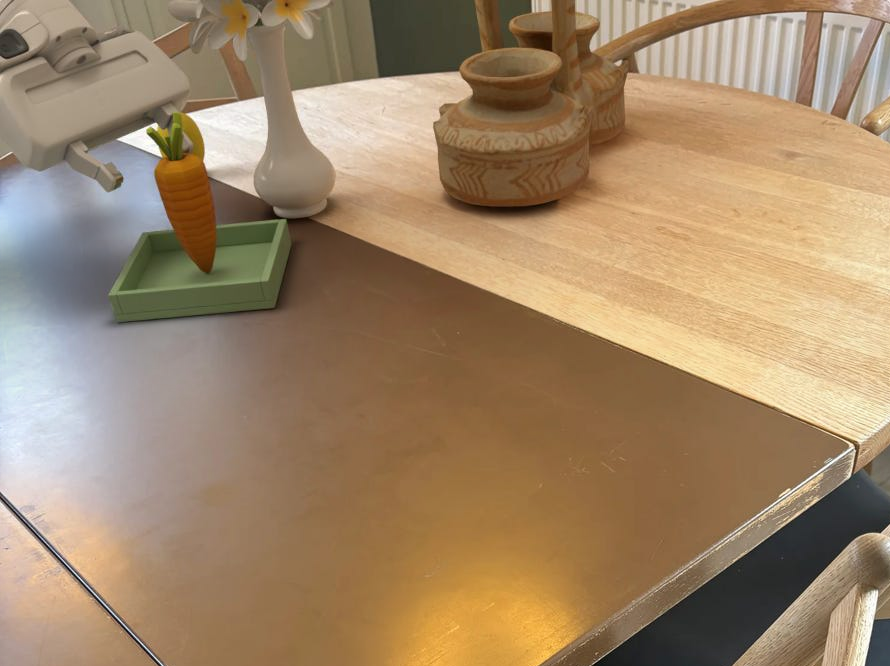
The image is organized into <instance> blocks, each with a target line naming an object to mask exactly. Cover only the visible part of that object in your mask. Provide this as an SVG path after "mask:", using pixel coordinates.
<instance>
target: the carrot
mask: <svg viewBox="0 0 890 666" xmlns="http://www.w3.org/2000/svg"><path fill="white" fill-rule="evenodd" d="M145 130H146V131H145V133H146V135H147V136H148V137H149V138H150V139H151V140H152V141H153V142H154V143H155V144H156V145H157V146H158V148H159V147H160V149H161V150H162V151H163V152H164V154H165V155H166V156H167V157H164V158H160V160H159V161H158V163H157V164H156V166H155V168H154V170H153V174H154V175H153V176H154V180H155V183H156V186H157V189H158V193H159V195H160V199H161V202H162V205H163V208H164V210H165V213H166V216H167V218H168V221H169V223H170V225H171V227H172V230H174V232H175V234H176V236H177V238H178V240H179V241H180V243H181V245H182V247H183V249H184V250H185V251H186V253H187V254H188V256H189V257H190V258H191V260H192V261H193V262H194V263H195V264H196V265H197V266H198V268H199V269H200V270H201V271H203V272H205V273H206V274H209V273H210V271H211V270H212V267H213V263H214V258H215V253H216V242H217V234H216V225H217V222H216V220H217V219H216V209H215V204H214V198H213V194H212V193H213V192H212V189H211V184H210V179H209V175H208V171H207V167H206V164H205V162H204V160H202V159H201V158H199V157H198V156H195V155H191V154H188V153H182V143H183V137H184V134H183V133H182V116H181V114H180V113H178V112H173V124H172V128H171V135H170V137H169V136H168V135H165V137H164V138H165V140H166V142H167V145H168V146H167V145H166V143H165V141H164V140H163V138H162V137H161V136H160V134H159V133H158V132H157V129H155V128H154V127H152V126H148V127H147V128H146V129H145ZM168 147H169V148H168ZM169 149H170V150H169Z"/></svg>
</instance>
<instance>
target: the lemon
mask: <svg viewBox="0 0 890 666" xmlns="http://www.w3.org/2000/svg"><path fill="white" fill-rule="evenodd" d="M180 114H181V116H182V127H183V132H184V133H185V134H186V135H187V137H188V138H189V139H190V140H191V141H192V143H193V145H194V148H193V150H192V153H191V155H195V156H198V157H199V158H201V159H202V160H203V161H205V154H206V149H205V141H204V138H203V135H202V132H201V130H200V128H199V126H198V125H197V123H196V121H194V119H193V118H192V117H190V115H189V114H186V113H184V112H183V111H181V112H180ZM156 131H157V132H158V133H159V134H160V136H161V137H162V138H163V140H164V141H165V143H166V145H167V142H166V140H165V138H164V137H165V135H168V136H169V133H168V129H167V128H166V129H165V130H162V129H161V128H160V127H159V125H158V124H157V127H156ZM169 137H170V136H169ZM167 146H168V145H167ZM158 150H159V153H160V155H161V157H162V158H164V157H167V156H166V155H165V154H164V152H163V151H162V150H161V149H160V147H159V146H158ZM162 158H161V159H162Z"/></svg>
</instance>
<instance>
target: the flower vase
mask: <svg viewBox="0 0 890 666" xmlns="http://www.w3.org/2000/svg"><path fill="white" fill-rule="evenodd" d="M334 7H335V5H334V1H333V0H172V1H170V2H169V3H168V5H167V11H168V13H169V14H170V16H171V17H173V19H175V20H177V21H180V22H183V23H193V24H192V26H191V28H190V31H189V42H188V43H189V46H190V50H191V52H192V53H193V54H194V55H199V54H200V53H202V51H203V49H204V47H205V46H206V45H205V44H206V42H207V46H208V47H209V48H210V50H212V51H217V50H221V48H223V49H224V48H225V46H226V45H227V43H229V41H232V47H233V50H234V54H235V55H236V57H237V59H238V60H239V61H240V62H245V61H247V59H248V56H249V44H250V46H251V49H252V52H253V55H254V58H255V61H256V64H257V65H256V66H257V68H258V72H259V78H260V83H261V88H262V94H263V100H264V105H265V112H266V120H267V138H266V145H265V149H264V152H263V154H262V155H261V157H260V159H259V160H258V162H257V164H256V167H255V170H254V174H253V187H254V189H255V192H256V194H257V196H258V197H259V198H260V199H261V200H262V201H263V202H264V203H266V204H268V205H269V206H271V207H272V209H273V213H274V214H275V215H276V216H278V217H280V218H282V219H292V220H293V219H303V218H308V217H312V216H315V215H317V214H319V213H322V212H323V211H324V210H325V209H326V208H327V205H328V201H327V198H328V197H329V196H330V194H331V193H332V191H333V189H334V187H335V184H336V180H337V173H336V170H335V167H334V165H333V163H332V162H331V160H330V158H329V157H328V156H327V155H326V154H325V153H324V152H323V151H322V150H320V149H319V148H318V147H317V146H316V145H314V144H313V143H312V142H311V140H310V139H309V137H308V136H307V134H306V132H305V130H304V128H303V126H302V124H301V120H300V118H299V114H298V112H297V111H298V110H297V107H296V104H295V99H294V94H293V91H292V86H291V82H290V77H289V72H288V66H287V60H286V49H285V48H286V46H285V30H286V27H287V23H286V21H287V20H288V21H289V23H290V25H291V26H292V28H293V29H294V31H295V32H296V33H297V35H299V37H301V38H303V39H304V40H307V41H309V40H312V39H313V38H314V36H315V27H314V23H313V21H312V19H311V17H310V15H311V16H312V17H313V18H315V19H316V20H318V21H322V15H321V12H320V11H319V10H320V9H323V8H324V9H325V8H326V9H333V8H334ZM308 13H309V14H310V15H309V14H308ZM219 19H220V20H219ZM248 40H249V41H248ZM248 43H249V44H248Z"/></svg>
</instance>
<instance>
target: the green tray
mask: <svg viewBox="0 0 890 666" xmlns="http://www.w3.org/2000/svg"><path fill="white" fill-rule="evenodd" d="M216 234H217V242H216V253H215V258H214V263H213V267H212V270H211V271H210V273H209V274H206V273H205V272H203V271H201V270H200V269H199V268H198V266H197V265H196V264H195V263H194V262H193V261H192V260H191V258H190V257H189V256H188V254H187V253H186V251H185V250H184V249H183V247H182V245H181V243H180V241H179V240H178V238H177V236H176V234H175V232H174V230H173V229H164V230H163V229H162V230H153V231H152V230H151V231H144V232H143V231H142V233H141V235H140V236H139V238H138V240H137V242H136V244H135V245H134V248H133V249H132V251H131V253H130V254H129V257H128V259H126V262H125V264H124V266H123V268H122V269H121V271H120V273H119V274H118V277H117V278H116V280H115V282H114V284H113V286H112V288H111V290H110V291H109V293H108V299H109V302H110V305H111V308H112V310H113V314H114V315H115V319H116V322H117V323H124V322H125V323H126V322H136V321H137V322H138V321H146V320H157V319H168V318H169V319H170V318H178V317H179V318H180V317H190V316H201V315H202V316H203V315H214V314H224V313H235V312H244V311H257V310H267V309H275V307H276V304H277V300H278V296H279V293H280V289H281V286H282V281H283V277H284V275H285V270H286V266H287V262H288V259H289V255H290V251H291V247H292V239H291V235H290V231H289V225H288V221H287V218H282V219H269V220H258V221H249V222H238V223H237V222H236V223H226V224H216Z"/></svg>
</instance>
